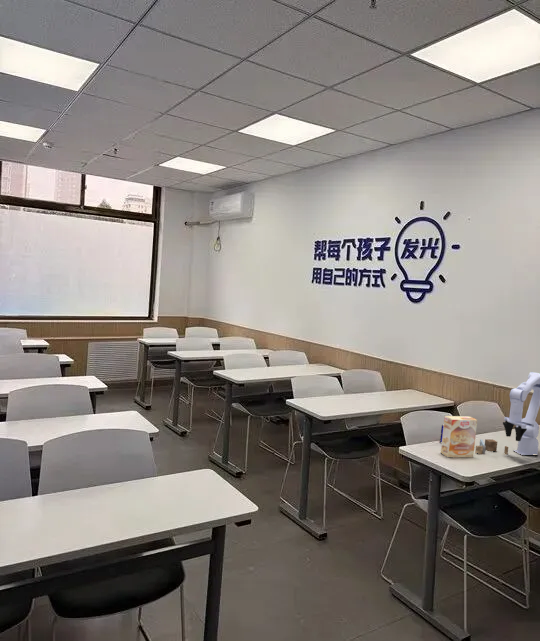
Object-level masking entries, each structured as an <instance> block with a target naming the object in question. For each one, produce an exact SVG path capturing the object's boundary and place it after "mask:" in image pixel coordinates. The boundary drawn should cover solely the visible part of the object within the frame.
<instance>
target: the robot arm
mask: <svg viewBox="0 0 540 641" xmlns="http://www.w3.org/2000/svg"><path fill="white" fill-rule="evenodd" d="M532 390H533V391H532ZM531 392H533V393H532V396H531V399H530V401H529V404H528V409H527V411H526V414H525V417H523V412H524V411H523V409H524V402H526V400H527V397H528V395H529V393H531ZM509 402H510V409H509V416H508V417H507V416H504V418H503V422H502V425H503V427H504V430H505V436H506V437H509V438H510V437H512V432H513V429H514V430H515V441H516V442H517V449H514V450H513V452H514V451H515V452H514V453H516V452H517V453H516V454H518V453H519V454H518V455H520V454H521V456H522V455H533V454H537V455H539V454H538V452H539V444H540V443H539V441H538V439H537V438H538V436H539V431H540V430H539V429H540V425H539V424H538V422H537V421H536V420H537V416H538V413H539V410H540V373H539V372H534V371H530V372H529V373H528V375H527V380H526V381H523V382H521V383H520V384H519V385H517V387H516V388H511V390H510V392H509Z"/></svg>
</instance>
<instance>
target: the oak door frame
mask: <svg viewBox="0 0 540 641" xmlns="http://www.w3.org/2000/svg"><path fill="white" fill-rule="evenodd" d="M503 450H504V451H503V453H505V454H504V455H506V454H509V446H507V445H505V446H504V449H503ZM482 451H483V446H479V445H475V450H474V452H475V453H474V454H476V453H478V454H477V455H482V454H483V453H482Z"/></svg>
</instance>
